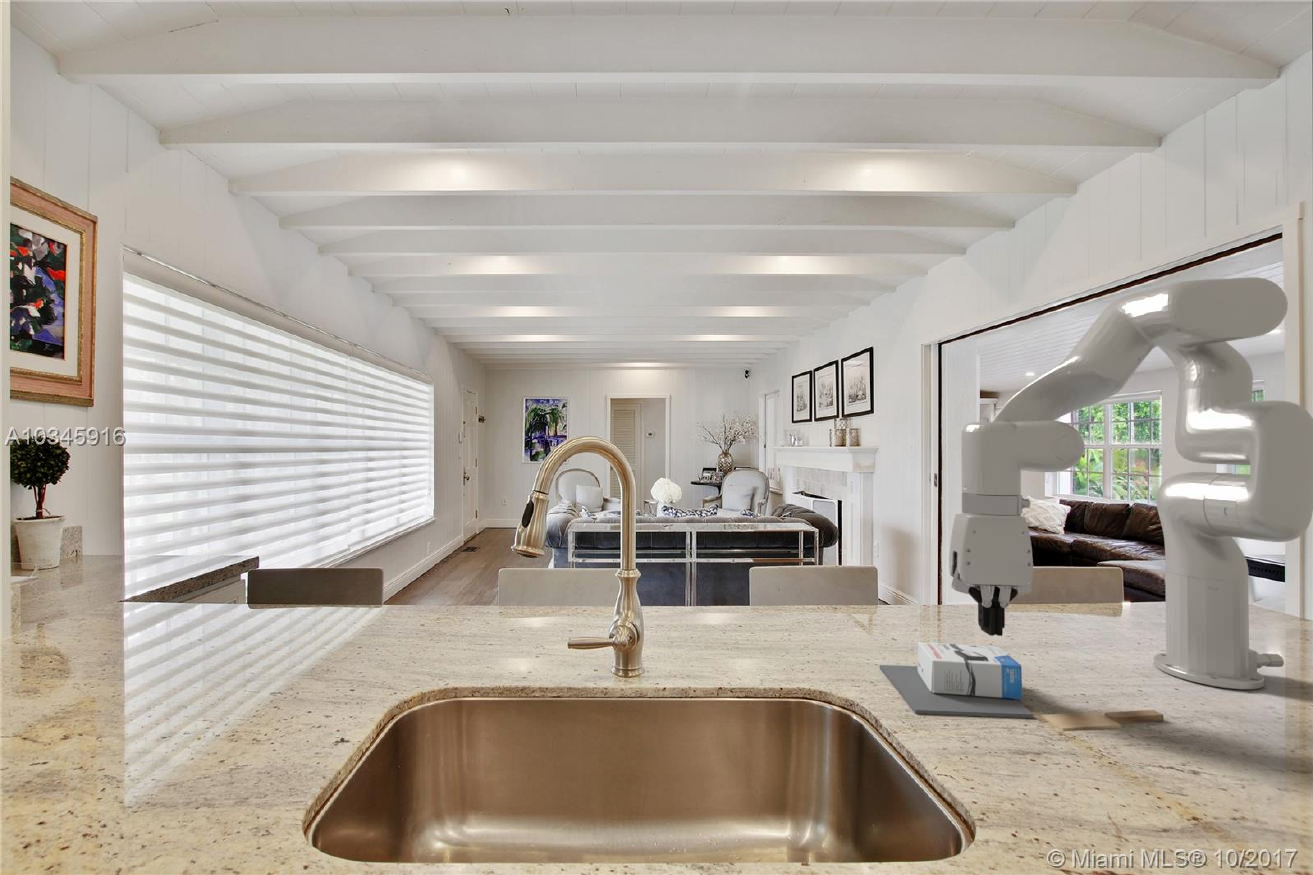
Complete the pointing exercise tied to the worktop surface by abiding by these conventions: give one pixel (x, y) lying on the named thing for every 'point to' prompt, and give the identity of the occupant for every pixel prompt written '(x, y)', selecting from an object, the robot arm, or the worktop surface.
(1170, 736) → the worktop surface
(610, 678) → the worktop surface
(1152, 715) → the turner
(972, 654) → the ink box
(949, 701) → the mat
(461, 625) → the worktop surface
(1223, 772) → the worktop surface
